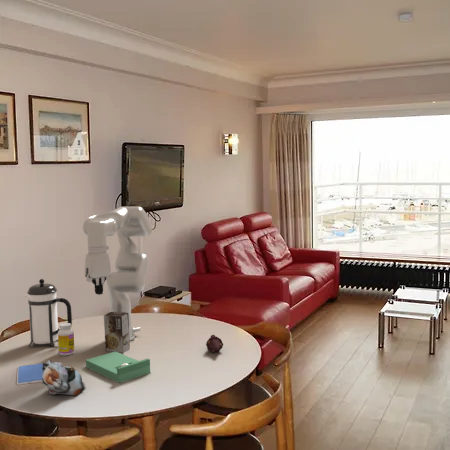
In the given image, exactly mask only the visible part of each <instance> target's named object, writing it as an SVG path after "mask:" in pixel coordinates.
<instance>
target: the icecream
mask: <svg viewBox="0 0 450 450" xmlns="http://www.w3.org/2000/svg"><path fill="white" fill-rule="evenodd" d="M205 346H206V348H207V350H208V352H210V353H219V352H220V351H221V350H222V349H223V346H224V343H223V341H222V339H221V338H220V337H218V336H216V335H215V334H211V335H210V337H209V338H208V339H207V341H206V343H205Z"/></svg>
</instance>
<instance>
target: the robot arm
mask: <svg viewBox="0 0 450 450" xmlns="http://www.w3.org/2000/svg"><path fill="white" fill-rule="evenodd" d="M152 228H153V226H152V222H151V220H150V218H149V216H148V213H146V211H145V210H144V208H143V207H141V206H119V207H117V208H116V209H114V210H111V211H108V212H103V213H99V214H94V215H91V216H88V217H87V218H86V219H85V220H84V222H83V225H82V231H83V233H84V234H85V235H86V237H87V254H86V255H85V260H84V277H85V279H86V282H88V283H92V284H93V286H94V292H95V294H96V295H98V296H99V295H100V296H101V295H103V292H104V284H105V283H106V286H107V291H108V297H109V312H123V313H128V315H129V338H130V342H131V341H134V340H135V339H136V334H135V333H138V332H140V331H141V327H140V326H139V327H138V326H137V327H134V326H133V327H132V309H131V303H132V302H131V298H130V297H129V295H128V294H127V293H136V294H137V293H141V292H143V291H144V289H145V285H146V282H147V278H148V275H149V274H148V273H149V270H150V259H149V256H148V255H147V254H145V253H142V252H141V253H140V252H139V253H138V245H137V243H136V242H135V241H134V240H133V239H132V237H133V238H134V237H135V238H137V237H138V238H139V237H142V238H143V237H145V238H146V237H149V236H150V235H151V234H152V230H153V229H152ZM115 234H117V239H118V242H119V248H118V253H117V256H116V259H115V263H114V264H115V265H114V267H115V270H116V271H113V272H111V261H110V256H109V253H108V252H107V251H108V250H109V249H110V247H109V246H107V237H111V236H114V235H115Z"/></svg>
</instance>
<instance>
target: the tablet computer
mask: <svg viewBox="0 0 450 450" xmlns="http://www.w3.org/2000/svg"><path fill="white" fill-rule="evenodd" d="M43 363H44V362H42V363H35V364H28V365H21V366H18V367H17V372H16V385H17V386H23V385H28V384H29V385H30V384H31V385H32V384H38V383H43V381H42V374H43V369H42V367H43Z"/></svg>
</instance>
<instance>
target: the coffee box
mask: <svg viewBox="0 0 450 450" xmlns="http://www.w3.org/2000/svg"><path fill="white" fill-rule="evenodd" d="M103 325H104V342H105V344H104V345H105V347H104V348H105V351H106V352H111V353H112V352H115V351H116V352H118V353H125V352H127V351H128V350H130V349H131V341H130V338H129V315H128V313H123V312H110V311H109V312H107V313H106V314H104V315H103Z"/></svg>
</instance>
